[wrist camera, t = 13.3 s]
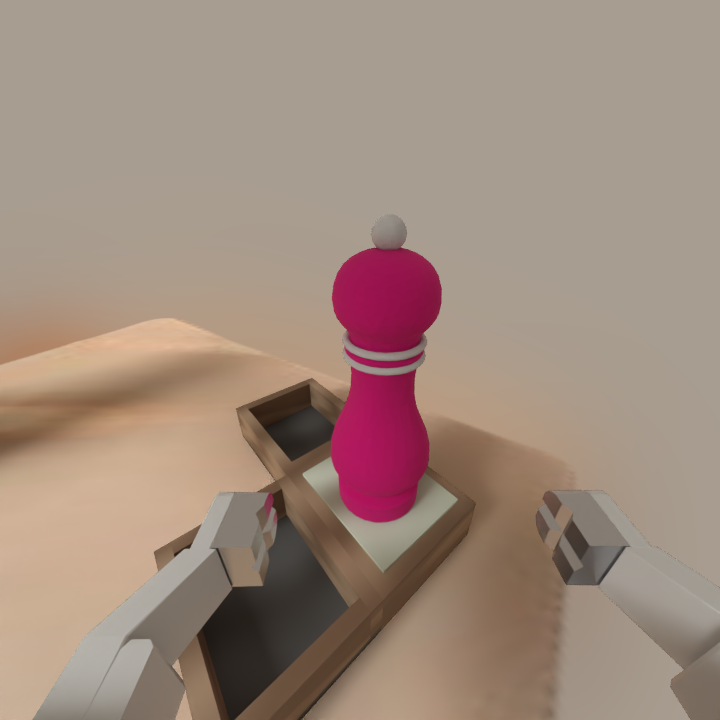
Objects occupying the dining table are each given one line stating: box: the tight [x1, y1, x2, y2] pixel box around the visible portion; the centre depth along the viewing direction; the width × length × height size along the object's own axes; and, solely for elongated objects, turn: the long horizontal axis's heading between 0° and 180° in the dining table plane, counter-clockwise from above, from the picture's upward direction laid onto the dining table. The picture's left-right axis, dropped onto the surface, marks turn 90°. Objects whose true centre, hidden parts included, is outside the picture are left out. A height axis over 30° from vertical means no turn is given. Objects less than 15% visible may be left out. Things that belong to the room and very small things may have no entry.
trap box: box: [154, 378, 476, 720], centre depth 27 cm, size 24×20×4 cm
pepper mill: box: [331, 215, 442, 523], centre depth 20 cm, size 7×7×20 cm
